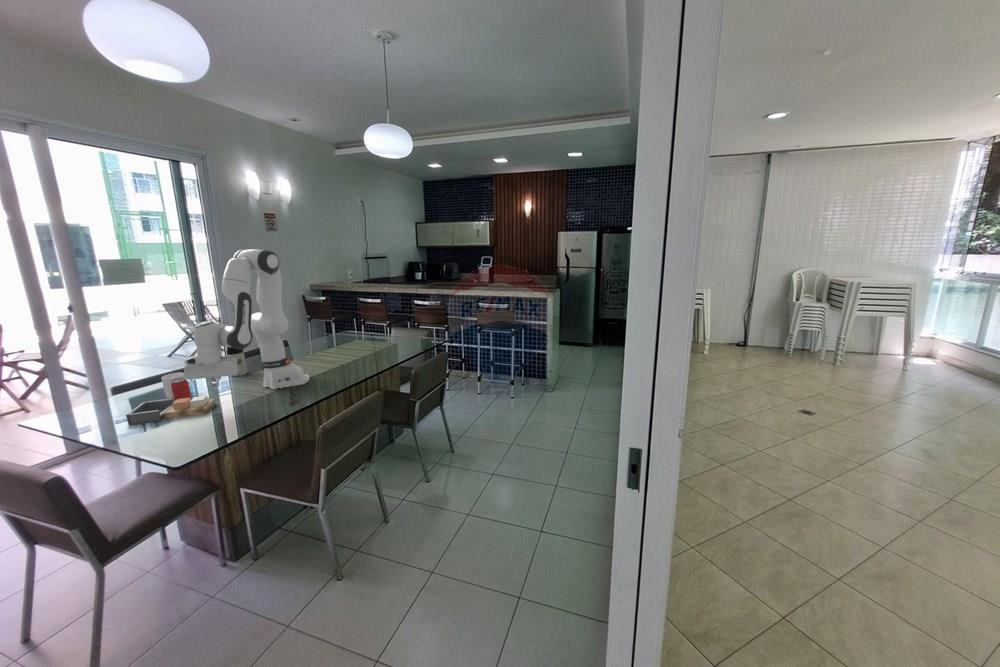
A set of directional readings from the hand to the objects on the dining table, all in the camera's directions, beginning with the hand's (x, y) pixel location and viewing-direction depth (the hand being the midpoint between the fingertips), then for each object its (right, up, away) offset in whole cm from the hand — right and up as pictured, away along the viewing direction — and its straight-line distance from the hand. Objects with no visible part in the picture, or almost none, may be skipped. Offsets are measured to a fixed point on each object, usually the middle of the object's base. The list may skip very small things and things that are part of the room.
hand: (215, 386), depth 176 cm
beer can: (-21, -10, +9) cm, 25 cm away
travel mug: (-21, 0, +48) cm, 52 cm away
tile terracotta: (-13, -9, -2) cm, 16 cm away
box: (-24, -13, -5) cm, 28 cm away
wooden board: (-11, -12, 0) cm, 16 cm away
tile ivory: (-7, -9, 0) cm, 11 cm away
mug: (-31, -7, +19) cm, 37 cm away
